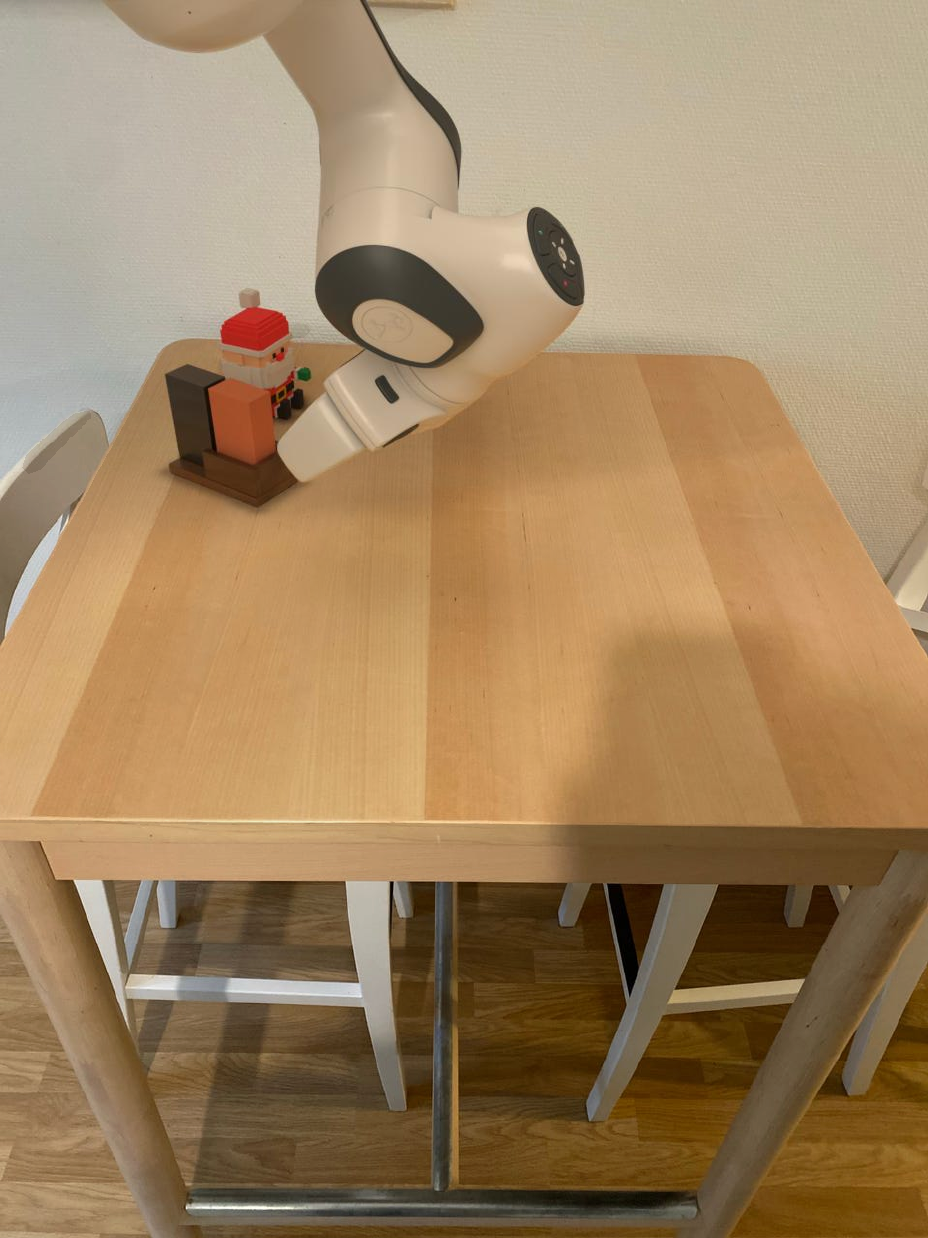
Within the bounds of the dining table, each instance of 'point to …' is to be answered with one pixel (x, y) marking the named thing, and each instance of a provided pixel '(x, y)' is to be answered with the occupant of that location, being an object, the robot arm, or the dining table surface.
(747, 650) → the dining table surface
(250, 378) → the figurine
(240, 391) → the orange rectangular block
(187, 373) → the mount
